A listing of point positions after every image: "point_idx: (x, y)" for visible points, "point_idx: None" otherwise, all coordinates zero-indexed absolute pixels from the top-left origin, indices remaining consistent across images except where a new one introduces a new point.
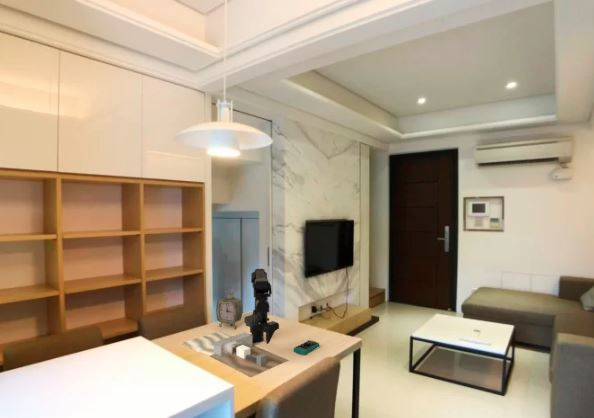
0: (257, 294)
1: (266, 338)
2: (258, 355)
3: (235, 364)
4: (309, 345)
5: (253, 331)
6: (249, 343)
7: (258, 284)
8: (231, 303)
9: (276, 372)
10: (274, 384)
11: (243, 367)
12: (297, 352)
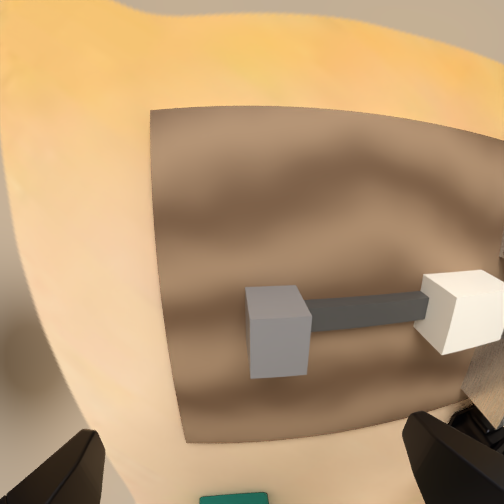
0: None
1: (39, 489)
2: (303, 331)
3: (407, 169)
4: None
5: (479, 488)
6: (481, 386)
7: None
8: None
9: (121, 315)
10: (15, 200)
11: (329, 175)
12: (240, 497)
